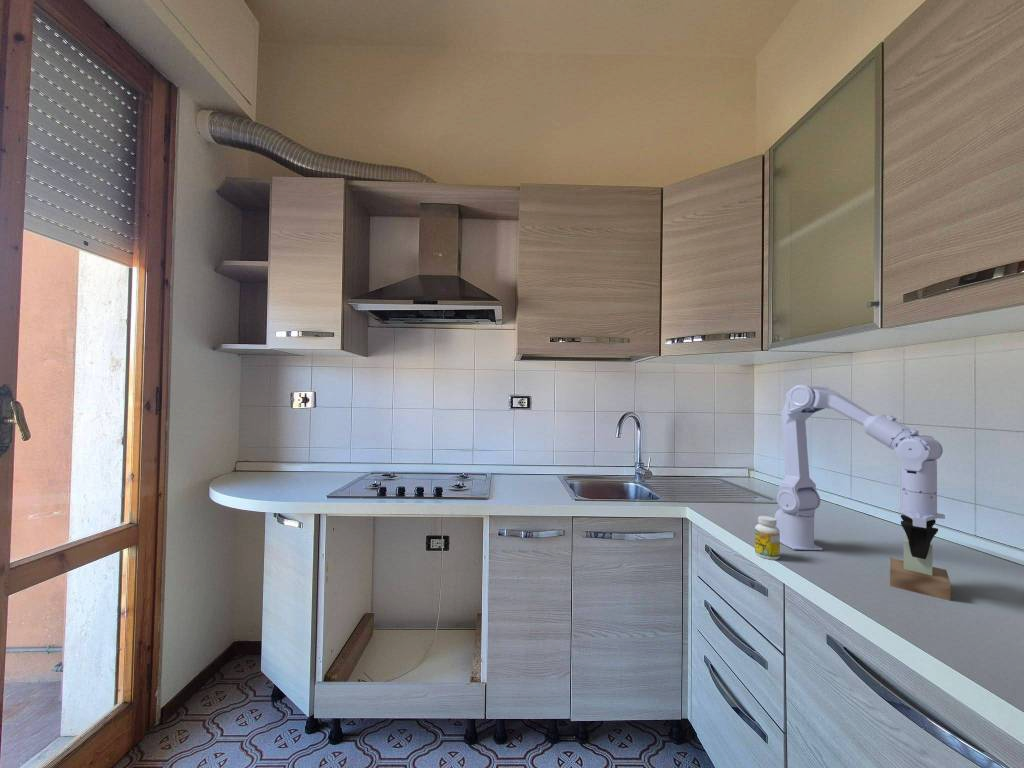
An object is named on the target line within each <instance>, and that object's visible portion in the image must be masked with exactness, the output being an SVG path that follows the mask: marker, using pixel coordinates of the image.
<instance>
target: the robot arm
mask: <svg viewBox="0 0 1024 768" xmlns="http://www.w3.org/2000/svg"><path fill="white" fill-rule="evenodd" d="M785 399H786V400H785V404H784V406H783V408H782V410H781V428H782V442H783V443H782V444H783V445H782V446H783V457H784V459H783V460H784V468H785V469H784V472H785V474H784V475H785V477H784V478H783V479H782V480H781V481H780V482H779V484H778V487H779V488H778V493H777V494H776V501H777V502H776V503H777V504H778V507H780V508H778V509H777V510H776V512H775V514H774V517H773V518H775V519H776V520H777V524H776V527H777V528H778V529H779V531H780V544H782V545H784V546H786V547H788V548H790V549H792V550H795V551H823V547H821V546H819V545H817V544H815V514H816V510H817V509H818V508H819V507H820V505H821V496H820V494H819V493H818V490H817V486H816V483H815V482H814V481H813V480H812V479H811V478H810V466H809V455H808V454H809V453H808V452H809V451H808V439H807V438H808V437H807V427H806V420H807V419H809V418H810V417H812V415H813V414H815V413H817V412H820V411H823V410H825V409H830V410H833V411H835V412H836V413H839V414H841V415H842V416H843V417H846V418H848V419H849V420H852V421H853V422H856V423H857V424H859V425H861V426H863V428H864V432H865V433H864V434H866V435H867V436H870V437H871V438H873V439H875V440H876V441H877V442H879V443H881V444H883V445H885V446H886V447H887V448H890V449H891V450H893V451H894V453H895V455H896V456H897V457H898V458H899V459H900V507H899V508H898V510H899V511H898V512H899V513H900V514H901V515H900V518H901V520H900V526H901V527H902V529H903V530H904V531H903V532H904V533H905V534H906V535H905V536H906V537H907V538H908V542H909V547H910V551H911V555H912V557H916V558H921V559H926V557H927V554H928V551H929V547H930V543H931V542H933V541H932V540H933V539H934V537H935V536H936V535H937V534H938V533H939V528H937V527H934V525H935V524H936V520H938V519H940V520H941V519H942V520H944V519H945V520H946V515H945V514H943V513H938V461H937V460H938V459H940V458H941V457H942V455H943V453H944V452H943V451H944V450H943V446H942V444H941V442H939V441H938V439H936V438H934V437H933V436H931V435H928V434H921V435H920V434H919V432H920V431H919V430H917V429H915V428H909V427H908V426H906V425H904V424H902V423H900V422H899V421H897V417H895V416H893V415H886V414H877V415H874V414H872V413H871V412H870V411H868V410H866V409H865V408H863V407H861V406H860V405H858V404H856V403H855V402H853V401H852V400H850V399H849V398H847V397H846V396H844V395H842V394H840V392H838V391H836V390H833V389H831V388H829V387H828V386H825V385H805V384H797V385H795V386H793V387H792V388H791V389H790V390H788V392H786V393H785Z"/></svg>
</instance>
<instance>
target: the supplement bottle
mask: <svg viewBox="0 0 1024 768" xmlns="http://www.w3.org/2000/svg"><path fill="white" fill-rule="evenodd" d="M757 522H758V524H756V525H755V526H754V553H755V555H756V556H758V557H759V558H762V559H766V560H772V561H777V560H778V559H780V554H781V551H780V550H781V546H780V545H781V543H780V531H779V529H778V528H777V527H776V524H777V520H776V519H775V518H774V517H772V516H767V515H759V516H758V517H757Z"/></svg>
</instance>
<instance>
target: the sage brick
mask: <svg viewBox="0 0 1024 768" xmlns="http://www.w3.org/2000/svg"><path fill="white" fill-rule="evenodd" d="M903 561H904V569H906V570H910V571H915V572H919V573H923V574H928V575H932V567H933V541H931V543H930V547H929V551H928V554H927V557H926V559H921V558H916V557H912V555H911V551H910V547H909V542H908V538H907V536H904V538H903Z"/></svg>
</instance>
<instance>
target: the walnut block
mask: <svg viewBox="0 0 1024 768" xmlns="http://www.w3.org/2000/svg"><path fill="white" fill-rule="evenodd" d="M889 561H890V563H889V567H890V568H889V574H890V576H889V584H890V585H889V586H890V587H893V588H895V589H901V590H905V591H908V592H912V593H916V594H921V595H924V596H929V597H933V598H936V599H941V600H946V601H949V602H951V593H952V592H951V591H952V590H951V587H952V586H951V585H952V584H951V581H950V578H949V577H950V576H949V574H948V571H947V569H945V568H940V567H935V566H932V575H928V574H923V573H919V572H915V571H910V570H906V569H904V559H899V558H898V559H897V558H893V557H890V560H889Z"/></svg>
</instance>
